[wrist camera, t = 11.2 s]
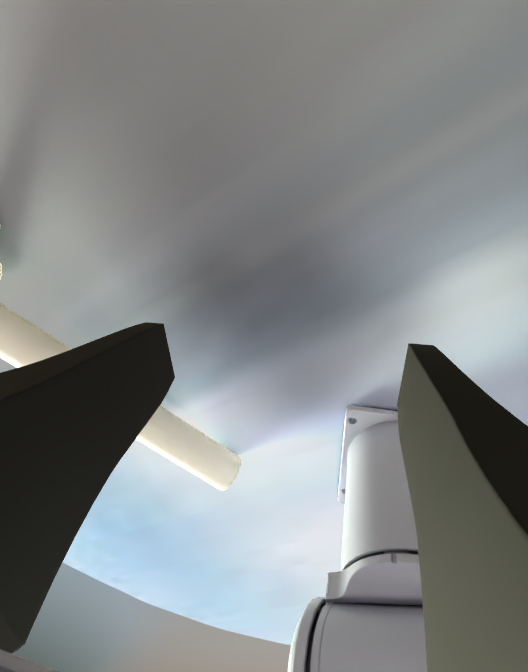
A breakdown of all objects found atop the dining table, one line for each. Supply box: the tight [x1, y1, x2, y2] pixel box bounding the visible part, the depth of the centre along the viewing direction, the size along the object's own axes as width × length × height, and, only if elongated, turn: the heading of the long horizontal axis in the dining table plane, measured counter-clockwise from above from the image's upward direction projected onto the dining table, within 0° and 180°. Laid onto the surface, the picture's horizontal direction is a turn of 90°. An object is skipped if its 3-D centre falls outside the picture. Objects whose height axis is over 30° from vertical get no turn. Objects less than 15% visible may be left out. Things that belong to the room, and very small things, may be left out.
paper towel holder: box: [0, 224, 241, 491], centre depth 23 cm, size 9×9×32 cm
